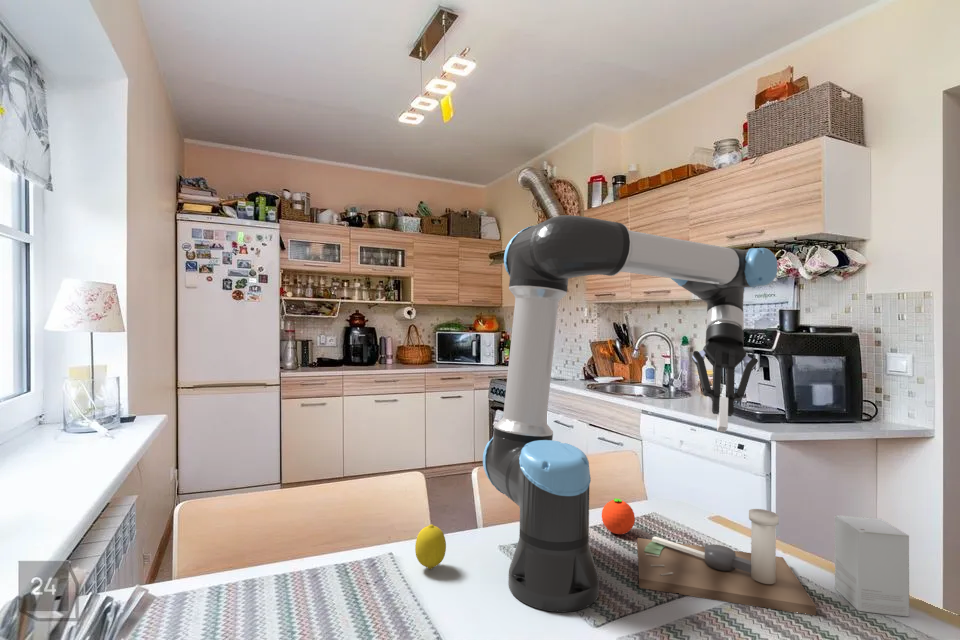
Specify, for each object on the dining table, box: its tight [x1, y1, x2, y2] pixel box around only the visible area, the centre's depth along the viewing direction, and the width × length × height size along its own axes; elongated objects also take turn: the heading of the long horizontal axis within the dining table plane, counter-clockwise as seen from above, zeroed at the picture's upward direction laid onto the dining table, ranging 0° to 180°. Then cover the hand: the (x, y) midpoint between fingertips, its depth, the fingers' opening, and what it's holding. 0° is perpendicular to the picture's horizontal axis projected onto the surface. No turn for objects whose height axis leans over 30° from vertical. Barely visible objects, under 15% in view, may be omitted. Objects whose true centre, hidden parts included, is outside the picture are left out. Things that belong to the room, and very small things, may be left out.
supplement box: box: [834, 515, 910, 617], centre depth 80 cm, size 7×7×13 cm
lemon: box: [414, 523, 447, 570], centre depth 88 cm, size 6×6×8 cm
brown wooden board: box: [636, 537, 817, 616], centre depth 87 cm, size 26×17×2 cm, turn 73°
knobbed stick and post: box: [651, 508, 780, 584], centre depth 89 cm, size 22×5×11 cm, turn 45°
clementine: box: [601, 498, 636, 535], centre depth 106 cm, size 8×7×7 cm
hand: (722, 429), depth 98 cm, fingers closed
